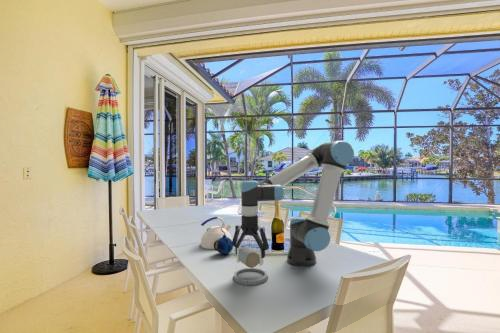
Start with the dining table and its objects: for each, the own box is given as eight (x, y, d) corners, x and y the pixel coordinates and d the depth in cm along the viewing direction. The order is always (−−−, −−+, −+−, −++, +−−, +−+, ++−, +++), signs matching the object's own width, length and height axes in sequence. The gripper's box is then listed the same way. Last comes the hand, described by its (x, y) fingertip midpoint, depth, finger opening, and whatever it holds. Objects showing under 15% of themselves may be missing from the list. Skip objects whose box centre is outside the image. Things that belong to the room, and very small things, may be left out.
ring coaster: (273, 273, 131) (273, 270, 131) (260, 288, 116) (259, 284, 116) (242, 269, 138) (242, 265, 138) (226, 281, 123) (226, 277, 123)
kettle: (237, 246, 176) (237, 217, 175) (205, 251, 166) (205, 221, 166) (226, 238, 194) (225, 212, 193) (196, 242, 185) (196, 215, 184)
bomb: (212, 253, 162) (211, 227, 162) (229, 250, 167) (228, 225, 167) (218, 258, 154) (217, 231, 154) (235, 255, 159) (235, 228, 159)
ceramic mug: (246, 270, 121) (246, 252, 121) (238, 264, 128) (238, 247, 128) (267, 266, 126) (267, 249, 126) (258, 260, 133) (258, 244, 133)
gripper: (276, 215, 125) (276, 263, 126) (231, 211, 135) (231, 257, 135) (270, 218, 118) (270, 269, 119) (223, 214, 128) (224, 262, 128)
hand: (250, 263), depth 127 cm, fingers closed on ceramic mug, 10 cm apart
